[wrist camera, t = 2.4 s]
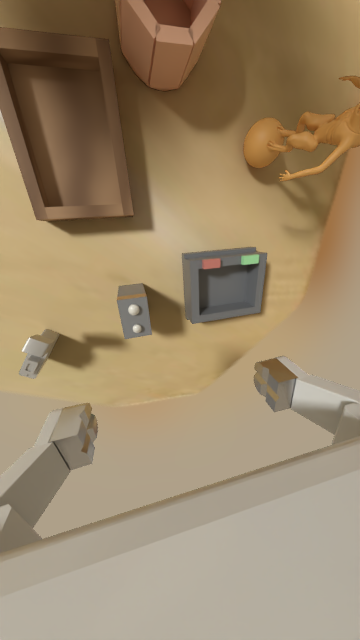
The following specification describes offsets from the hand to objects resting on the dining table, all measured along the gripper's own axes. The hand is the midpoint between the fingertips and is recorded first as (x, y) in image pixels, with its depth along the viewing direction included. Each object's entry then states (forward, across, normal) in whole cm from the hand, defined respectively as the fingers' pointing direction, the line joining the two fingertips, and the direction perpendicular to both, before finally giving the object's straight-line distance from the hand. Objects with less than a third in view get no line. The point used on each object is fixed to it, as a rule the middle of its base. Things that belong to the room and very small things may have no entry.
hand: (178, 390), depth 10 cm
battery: (+19, +2, +1) cm, 19 cm away
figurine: (+19, -15, -13) cm, 28 cm away
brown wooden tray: (+19, +5, -15) cm, 24 cm away
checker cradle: (+19, -10, +1) cm, 21 cm away
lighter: (+19, +14, +4) cm, 23 cm away
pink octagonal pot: (+19, -5, -22) cm, 30 cm away
